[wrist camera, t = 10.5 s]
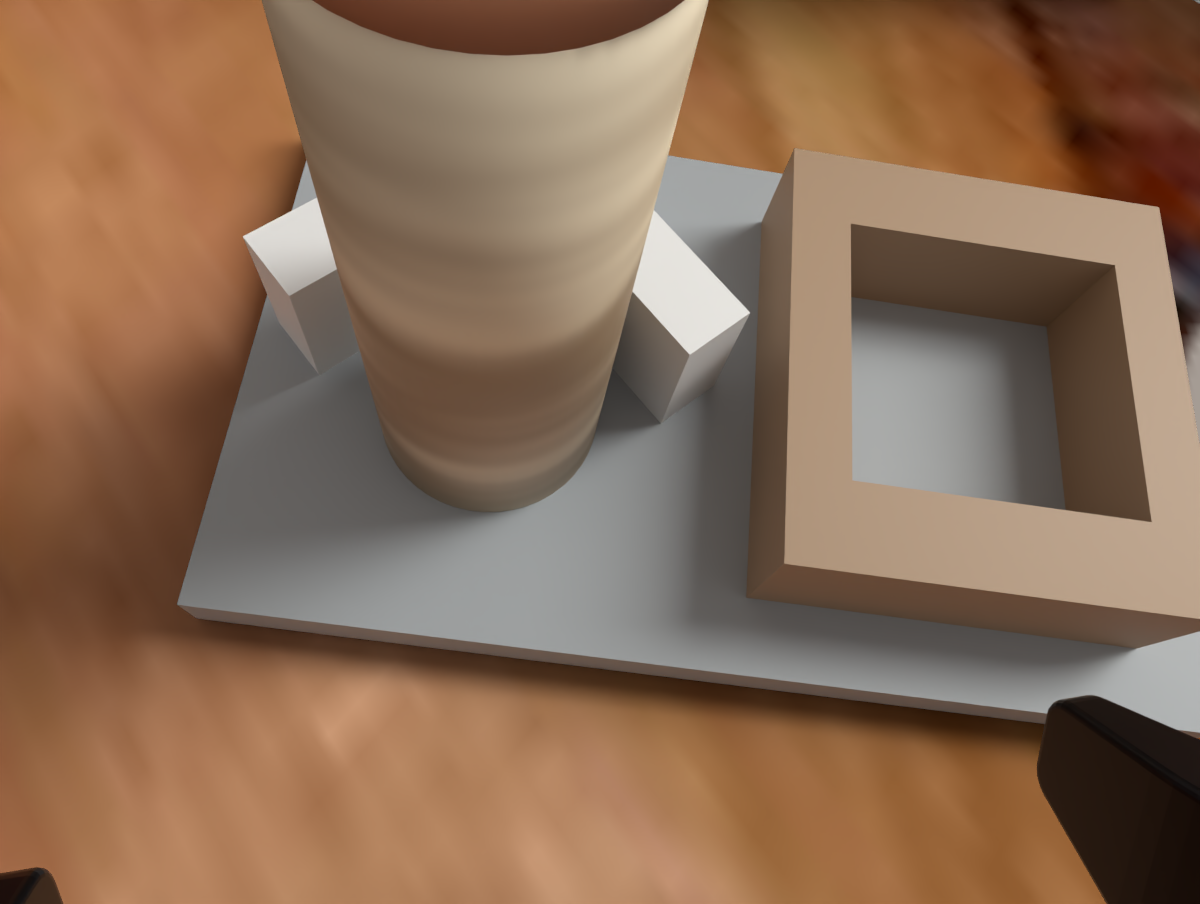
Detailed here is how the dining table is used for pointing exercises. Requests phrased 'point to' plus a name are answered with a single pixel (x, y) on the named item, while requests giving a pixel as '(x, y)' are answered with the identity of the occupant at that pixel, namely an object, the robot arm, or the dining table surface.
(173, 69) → the dining table surface
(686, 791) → the dining table surface
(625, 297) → the beige banded cylinder
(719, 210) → the board
